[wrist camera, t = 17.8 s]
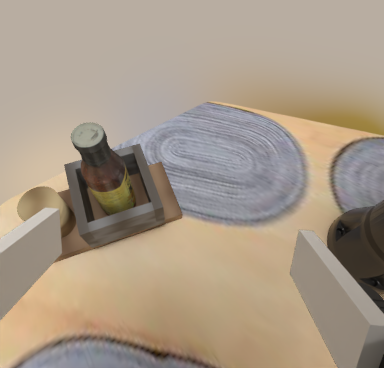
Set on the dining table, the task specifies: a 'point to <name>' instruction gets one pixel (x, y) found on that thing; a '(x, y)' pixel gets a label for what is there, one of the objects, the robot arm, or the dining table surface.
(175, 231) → the dining table surface
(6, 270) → the robot arm
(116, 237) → the post socket
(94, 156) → the sauce bottle
